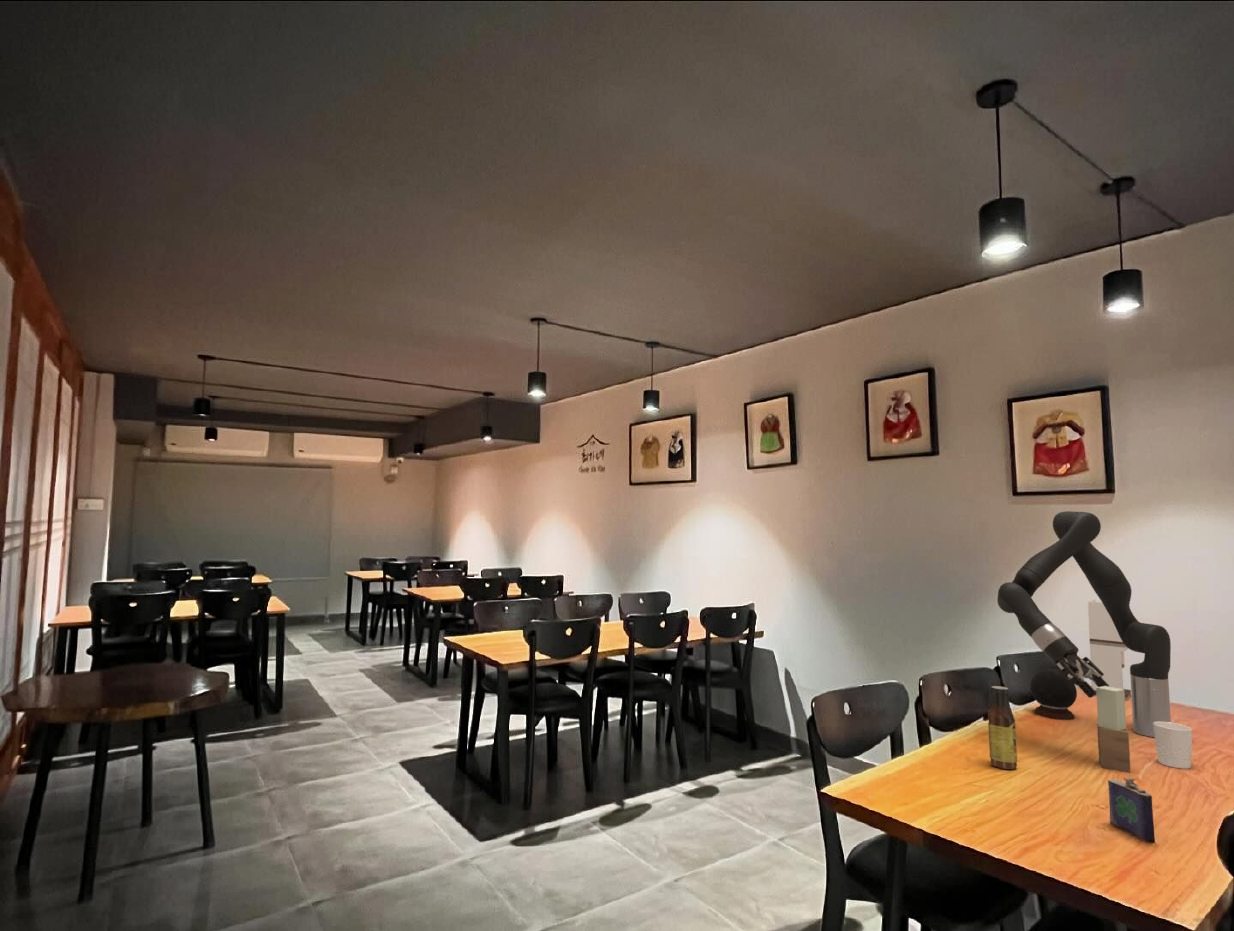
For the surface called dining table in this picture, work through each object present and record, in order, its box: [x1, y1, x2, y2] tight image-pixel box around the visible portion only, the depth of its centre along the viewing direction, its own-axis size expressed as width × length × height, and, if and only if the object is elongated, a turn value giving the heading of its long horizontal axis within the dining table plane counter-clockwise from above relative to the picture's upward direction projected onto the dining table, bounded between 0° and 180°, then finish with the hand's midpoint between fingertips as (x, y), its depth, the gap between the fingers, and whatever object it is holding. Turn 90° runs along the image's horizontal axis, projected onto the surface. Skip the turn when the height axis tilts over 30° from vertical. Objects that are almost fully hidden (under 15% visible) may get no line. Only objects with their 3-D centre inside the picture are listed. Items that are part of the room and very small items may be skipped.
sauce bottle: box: [987, 685, 1018, 770], centre depth 174 cm, size 7×6×20 cm
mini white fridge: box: [1087, 599, 1131, 702], centre depth 254 cm, size 11×11×35 cm
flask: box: [1107, 777, 1156, 844], centre depth 136 cm, size 9×3×11 cm, turn 8°
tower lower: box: [1097, 742, 1132, 774], centre depth 174 cm, size 6×6×5 cm
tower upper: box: [1096, 722, 1130, 753], centre depth 174 cm, size 6×6×5 cm
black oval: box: [1029, 668, 1078, 721], centre depth 223 cm, size 13×13×15 cm
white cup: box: [1153, 722, 1193, 770], centre depth 177 cm, size 8×8×10 cm
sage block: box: [1096, 686, 1127, 731], centre depth 175 cm, size 4×4×10 cm
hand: (1101, 694), depth 177 cm, fingers open, 8 cm apart
